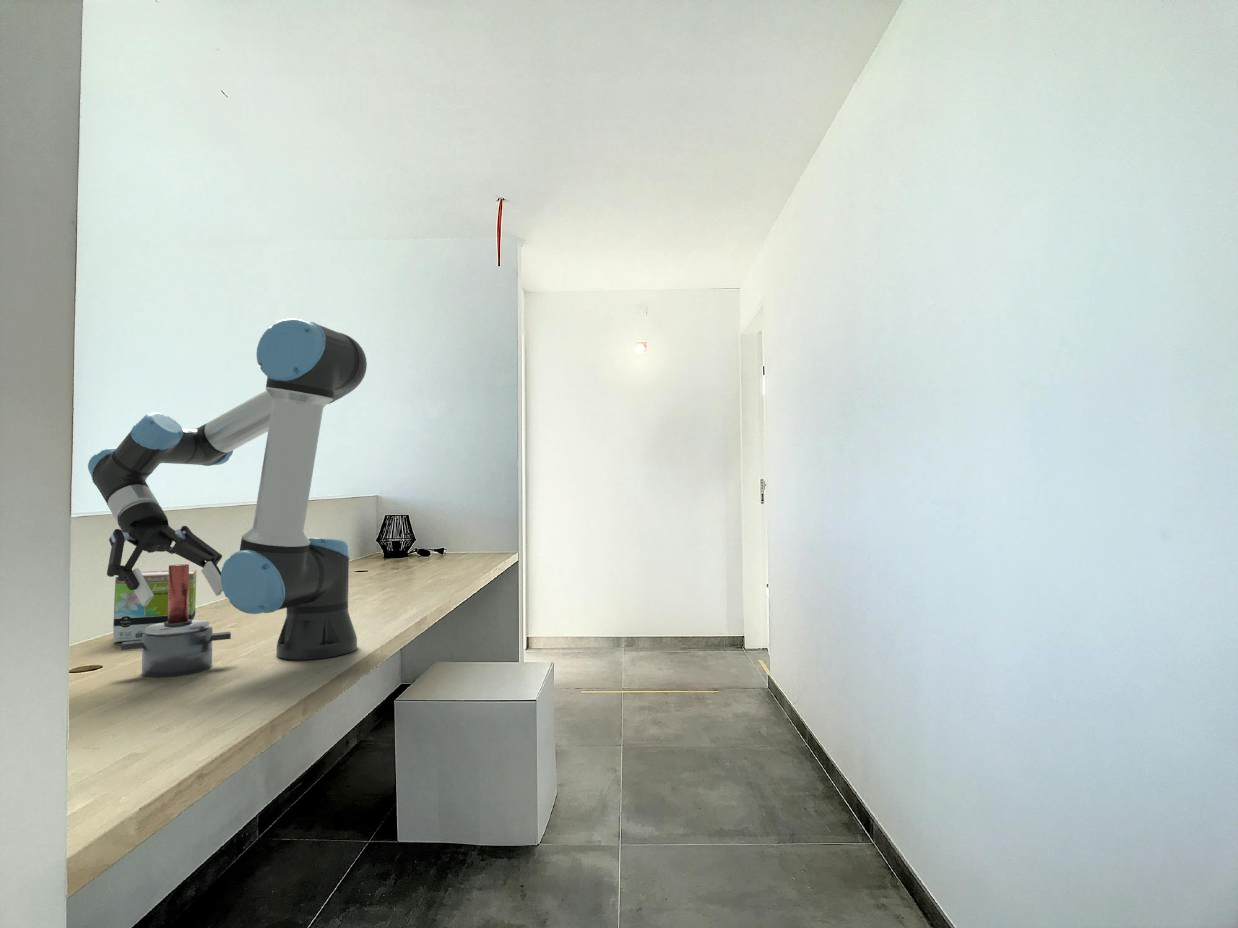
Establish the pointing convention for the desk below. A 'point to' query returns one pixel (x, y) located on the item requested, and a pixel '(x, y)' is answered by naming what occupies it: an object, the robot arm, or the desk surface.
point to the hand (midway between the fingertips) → (186, 595)
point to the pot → (176, 653)
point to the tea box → (137, 617)
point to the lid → (177, 607)
